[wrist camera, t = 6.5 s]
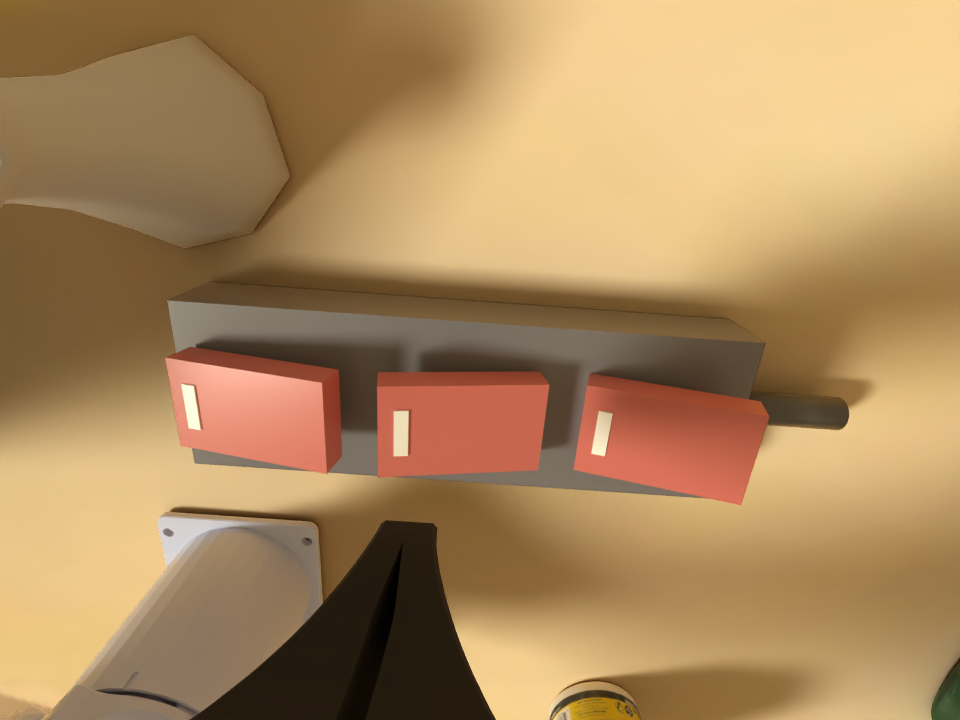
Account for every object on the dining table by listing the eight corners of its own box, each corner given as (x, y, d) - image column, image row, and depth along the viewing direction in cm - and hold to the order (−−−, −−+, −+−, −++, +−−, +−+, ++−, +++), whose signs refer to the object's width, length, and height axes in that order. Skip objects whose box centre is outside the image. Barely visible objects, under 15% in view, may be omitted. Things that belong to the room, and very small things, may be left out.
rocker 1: (342, 456, 19) (325, 475, 18) (203, 430, 20) (179, 446, 19) (338, 369, 18) (321, 383, 17) (190, 346, 19) (163, 358, 18)
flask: (199, -6, 17) (-136, -198, 8) (325, 185, 20) (177, 208, 10) (55, 112, 19) (-370, 65, 9) (187, 277, 21) (-51, 369, 12)
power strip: (795, 466, 24) (842, 513, 21) (229, 427, 24) (189, 468, 20) (845, 327, 21) (908, 356, 18) (209, 281, 21) (160, 303, 18)
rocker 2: (529, 453, 20) (538, 471, 19) (378, 458, 19) (377, 478, 18) (540, 371, 19) (550, 385, 18) (377, 372, 18) (377, 387, 17)
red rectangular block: (734, 486, 19) (741, 506, 18) (576, 453, 20) (573, 470, 19) (760, 401, 18) (770, 417, 17) (589, 373, 19) (587, 385, 18)
